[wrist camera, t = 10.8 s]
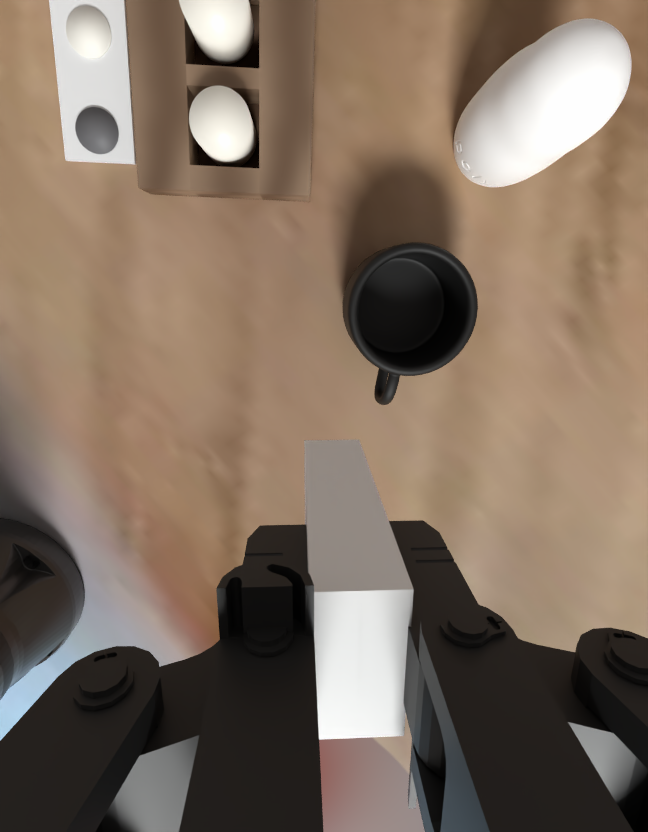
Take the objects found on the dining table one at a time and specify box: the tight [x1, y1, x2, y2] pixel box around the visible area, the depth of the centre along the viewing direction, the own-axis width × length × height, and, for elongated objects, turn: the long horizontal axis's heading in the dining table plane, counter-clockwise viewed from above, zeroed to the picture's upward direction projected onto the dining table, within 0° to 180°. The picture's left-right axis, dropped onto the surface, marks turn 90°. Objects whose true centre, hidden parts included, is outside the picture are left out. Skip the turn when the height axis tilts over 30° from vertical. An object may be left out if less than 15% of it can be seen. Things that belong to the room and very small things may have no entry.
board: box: [126, 0, 316, 202], centre depth 33 cm, size 12×20×3 cm, turn 178°
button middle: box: [179, 0, 254, 64], centre depth 30 cm, size 4×4×4 cm
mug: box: [343, 243, 478, 405], centre depth 37 cm, size 12×9×7 cm
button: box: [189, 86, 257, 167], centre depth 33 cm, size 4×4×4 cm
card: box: [49, 0, 136, 164], centre depth 33 cm, size 5×16×1 cm, turn 178°
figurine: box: [453, 19, 631, 187], centre depth 31 cm, size 7×8×12 cm
